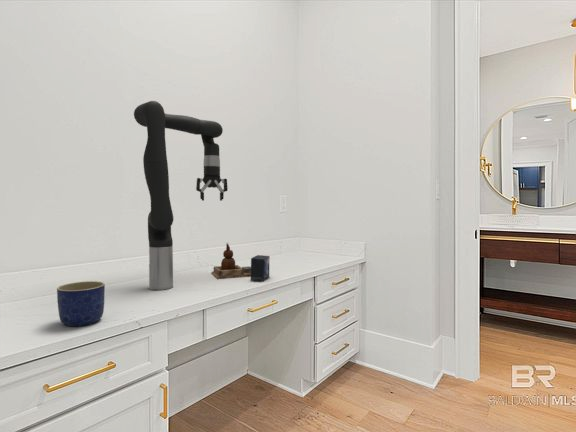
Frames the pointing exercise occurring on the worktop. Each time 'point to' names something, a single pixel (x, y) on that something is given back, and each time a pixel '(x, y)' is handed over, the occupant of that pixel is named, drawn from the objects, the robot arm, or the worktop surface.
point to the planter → (81, 302)
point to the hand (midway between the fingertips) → (212, 200)
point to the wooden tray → (231, 272)
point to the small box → (260, 268)
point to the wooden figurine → (228, 259)
